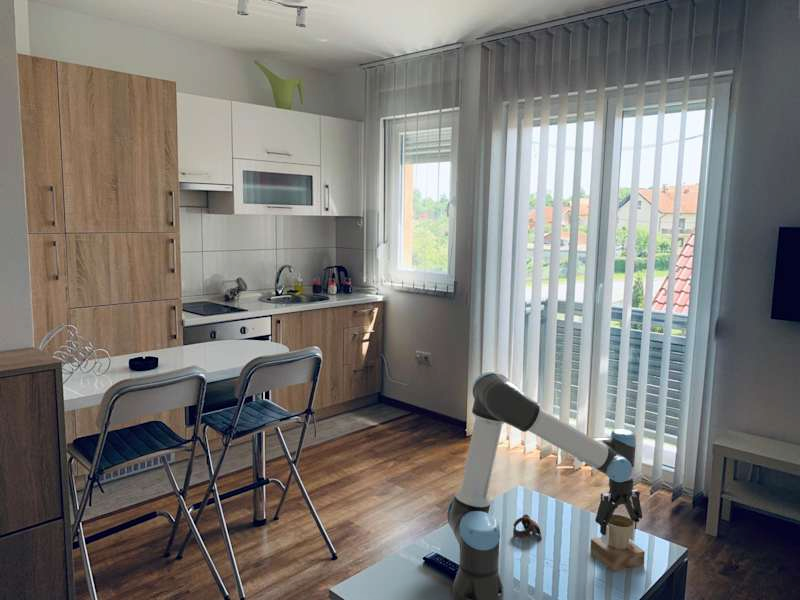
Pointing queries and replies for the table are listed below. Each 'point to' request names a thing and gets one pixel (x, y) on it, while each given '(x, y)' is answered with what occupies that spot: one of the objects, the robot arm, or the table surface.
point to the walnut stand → (617, 555)
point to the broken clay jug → (526, 527)
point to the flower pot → (619, 531)
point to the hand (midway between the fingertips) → (617, 540)
